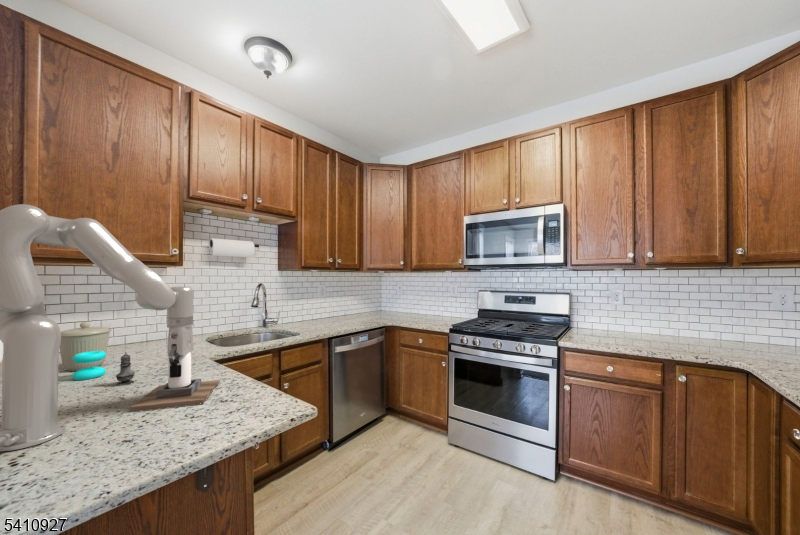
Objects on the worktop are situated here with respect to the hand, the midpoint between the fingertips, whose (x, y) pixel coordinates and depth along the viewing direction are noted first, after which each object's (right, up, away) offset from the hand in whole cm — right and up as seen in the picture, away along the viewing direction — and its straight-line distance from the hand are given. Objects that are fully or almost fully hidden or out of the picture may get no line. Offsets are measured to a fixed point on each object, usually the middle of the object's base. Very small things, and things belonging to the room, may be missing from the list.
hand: (179, 373), depth 110 cm
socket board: (0, -8, 0) cm, 8 cm away
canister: (-68, -9, +35) cm, 78 cm away
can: (0, -5, 0) cm, 5 cm away
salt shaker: (-31, -9, +14) cm, 35 cm away
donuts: (-53, -9, +22) cm, 58 cm away
